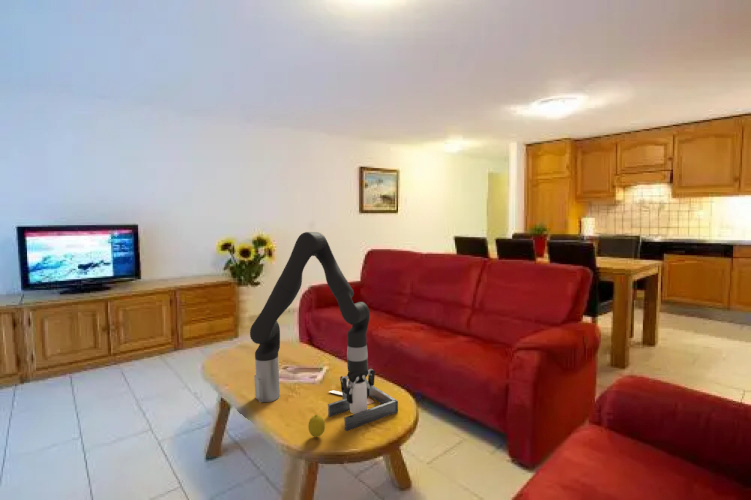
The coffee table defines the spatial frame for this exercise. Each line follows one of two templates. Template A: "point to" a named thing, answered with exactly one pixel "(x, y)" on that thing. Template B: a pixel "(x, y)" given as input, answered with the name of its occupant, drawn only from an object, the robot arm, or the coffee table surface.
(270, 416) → the coffee table surface
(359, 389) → the can
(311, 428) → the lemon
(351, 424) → the guide rails
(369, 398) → the pad
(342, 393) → the white strips
